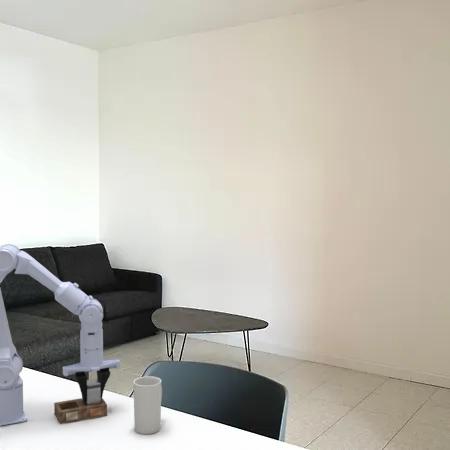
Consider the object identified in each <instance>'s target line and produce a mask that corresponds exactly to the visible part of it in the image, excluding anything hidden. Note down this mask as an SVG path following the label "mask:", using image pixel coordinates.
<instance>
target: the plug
mask: <svg viewBox="0 0 450 450" xmlns="http://www.w3.org/2000/svg"><path fill="white" fill-rule="evenodd" d="M86 392H87V401H84V404H85V406H89V405H95V404H101V383H100V381H99V380H98V379H97V378H93V379H92V378H91V379H87V386H86Z"/></svg>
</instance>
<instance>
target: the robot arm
mask: <svg viewBox="0 0 450 450" xmlns="http://www.w3.org/2000/svg"><path fill="white" fill-rule="evenodd" d="M13 270H15V272H14V274H15V275H28V276H30V277H31V278H33V279H34V280H36V281H38V282H39V283H40V284H41V285H42V286H45V287H46V288H47V289H48V290H49V291H51V292H53V294H54V300H55V301H57V303H59V304H60V305H61V306H62V307H64V308H66V309H67V310H68V311H69V312H71V313H72V314H73V315H77V316H78V318H79V321H80V326H81V327H80V332H79V338H80V341H79V344H80V346H79V348H80V355H79V356H80V362H78V363H74V364H69V365H66V366H65V365H64V366H62V375H63V376H64V377H68V376H71V375H74V378H75V379H76V382H77V383H78V387H79V389H80V392H81V393H80V394H81V398H82V399H83V401H87V392H86V386H87V380H88V377H87V376H86V375H87V373H90V372H96V377H97V378H96V379H98V380H99V381H100V383H101V398H103V395H104V391H105V387H106V384H107V382H108V380H109V379H110V376H111V370H112V369H116V370H117V369H121V360H119V359H118V358H117V359H104V329H103V318H104V310H103V306H102V304H101V303H100V302H99V300H98V299H96V298H94V296H92V295H87V294H86V293H85V292H84V291H82V290H81V288H79V284H78V283H76V282H74V283H72V282H71V281H61V280H60V279H59V278H58V277H57V276H56V275H54V274H53V273H52V272H50V271H49V269H47V268H46V267H44V265H42V264H41V263H40V262H38V261H37V260H36V259H35V258H34V257H32V256H31V255H30V254H29V253H27V252H26V251H24V250H21V249H20V248H19V247H18V246H16V245H15V244H10V243H8V244H4V245H1V246H0V284H1V283H2V282H3V280H4V279H5V278H6V276H7V275H8V274H10V273H11V272H13ZM23 368H24V362H23V359H22V357H20V355H19V354H18V351H17V348H16V346H15V345H14V343H13V339H12V334H11V330H10V325H9V321H8V317H7V313H6V307H5V303H4V298H3V293H2V290H1V288H0V427H1V426H7V425H12V424H18V423H23V422H27V421H28V418H27V416H26V413H25V411H24V410H25V409H24V384H23V383H24V381H23V379H22V378H21V375H20V373H21V372H22V370H23ZM110 369H111V370H110Z"/></svg>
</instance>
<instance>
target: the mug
mask: <svg viewBox="0 0 450 450" xmlns="http://www.w3.org/2000/svg"><path fill="white" fill-rule="evenodd" d="M162 397H163V386H162V379H161V378H160V377H157V376H141V377H137V378H135V379H134V380H133V415H134V418H133V419H134V421H133V422H134V431H135V432H136V433H138V434H141V435H151V434H155V433H158V432H159V431H160V430H161V417H162V413H161V411H162Z"/></svg>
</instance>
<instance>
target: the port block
mask: <svg viewBox="0 0 450 450" xmlns="http://www.w3.org/2000/svg"><path fill="white" fill-rule="evenodd" d="M53 405H54V407H53V409H54V416H55V418H56V420H57V422H58V424H59V425H63V424H69V423H74V422H80V421H86V420H91V419H96V418H102V417H107V416H108V403H107V402H106V401H105V399H104V398H103V397H102V398H101V404H95V405H89V406H85V404H84V401H83V399H82V397H81V398H73V399H71V400H70V399H69V400H68V399H67V400H63V401H57V402H54V404H53Z"/></svg>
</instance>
